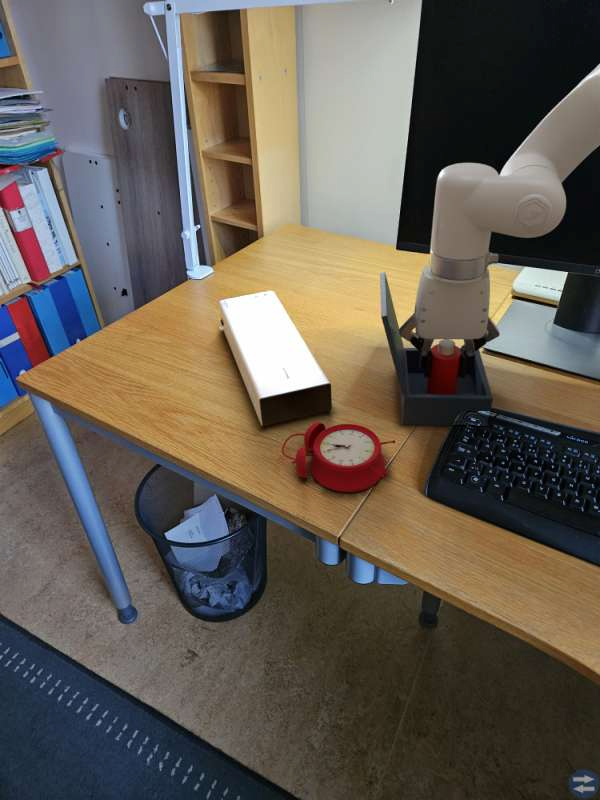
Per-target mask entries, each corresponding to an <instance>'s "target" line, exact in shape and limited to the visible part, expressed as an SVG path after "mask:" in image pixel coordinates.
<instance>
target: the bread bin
mask: <svg viewBox="0 0 600 800" xmlns="http://www.w3.org/2000/svg"><path fill="white" fill-rule="evenodd" d="M403 348H404V360H405V372H406V384H407V394H403V395H402V393H401V389H400V388H399V390H400V391H399V392H400V409H401V423H402V425H405V426H406V425H409V426H412V425H413V426H445V427H446V426H447V427H449V426H451V427H452V425H453V424H454V422H455V419H456V418H457V416H458V415H459V414H460V413H461V412H464V411H465V412H466V411H490V412H491V411H492V405H493V401H494V398H493V394H492V391H491V387H490V383H489V380H488V376H487V373H486V370H485V369H486V368H485V366H484V363H483V359H482V355H481V352H480V349H478V350H477V351H476V352H475V354H474V355H473V356H472V357H471V363H470V369H469V371H466V372H465V378H461V377H459V376H458V383H457V390H456V395H436V394H426V390H427V380H428V378H425V377H424V370H420V355H421V353H420V351H419V350H417V349H416V348H415V347H403ZM431 348H432V347H431ZM431 348H430V350H431Z"/></svg>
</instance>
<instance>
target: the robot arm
mask: <svg viewBox="0 0 600 800" xmlns="http://www.w3.org/2000/svg"><path fill="white" fill-rule="evenodd" d="M599 146H600V63H599V64H598V65H597V66H596V67H595V68H594V69H593V70H592V71H591V72H589V74H587V75H586V76H585V77H584V78H583V79H582V80H581V81H580V82H579V83H578V84H577V85H576V86H575V87H574V88H573V89H572V90H571V91H570V92H569V93H568V94H567V95H566V96H565V97H564V98H563V99H561V101H559V102H558V103H557V105H555V106H554V107H553V108H552V109H551V110H550V112H548V113H547V115H545V117H544V118H543V119H541V121H540V122H539V123H538V124H537V125H536V127H535V128H534V129H533V130H532V131H531V133H529V134H528V136H527V137H526V138H525V139H524V141H523V142H522V143H521V144H520V146H518V148H516V150H515V151H514V153H513V154H512V155H511V156H510V158H509V159H508V160H507V161H506V162H505V164H504V165H503V167H502V169H501V171H500V173H499V172H498V171H497V170H496V169H495V168H494V167H492V166H490V165H487V164H483V163H478V162H461V163H460V162H459V163H454V164H451V165H448V166H446V167H444V168H442V169H441V171H440V172H439V174H438V175H437V178H436V185H435V195H434V205H433V206H434V207H433V216H432V226H431V227H432V228H431V239H430V249H429V260H428V265H425V266H424V267H422V271H421V273H420V276H419V281H418V285H417V291H416V296H415V301H414V302H415V304H414V311H413V314H412V315H410V317H408V319H406V320H405V322H404V323H403V324H402V325H401V326H400V327H399V334H400V336H401V338H402V339H404V340H405V341H407V342H409V343H410V344H411V345H412V346H413V348H416V349H417V350H419V351H420V353H421V355H420V370H424V377H425V378H428V377H430V368H431V358H432V356H431V350H430V348H432V347H433V343H434V341H435V340H444V339H449V340H463V345H461V346H460V347H459V348H460V349H461V351H462V355H461V362H460V369H459V377H461V378H465V372H466V371H469V369H470V363H471V357H472V356H473V355H474V354H475V352H476V351H477V350H478V349H479V350H480V349H481V348H483V347H484V346H486V345H487V343H489V342H491V341H493V340H495V339H498V337H500V335H501V334H500V333H501V332H500V330H499V328H498V327H497V325H496V324H495V322H494V321H493V319H492V318H491V316H490V315H489V313H490V300H491V299H490V298H491V277H490V269H489V266H492V265H498V263H499V253H493V252H490V249H489V248H490V242H491V236H492V232H493V233H498V234H502V235H507V236H511V237H516V238H525V239H531V238H537V237H538V238H539V237H542V236H544V235H546V234H548V233H550V232H552V231H553V230H555V228H557V226H558V225H560V223H561V222H562V220H563V218H564V216H565V213H566V209H567V197H566V192H565V189H564V187H563V184H562V183H563V182H564V181H565V180H566V179H567V177H569V176H570V174H571V173H572V172H573V171H574V170H576V168H577V167H578V166H579V165H580V164H581V163H582V162H583V161H584V160H585V159H586V158H587V157H589V155H590V154H592V153H593V151H595V150H596V149H597V148H598V147H599ZM414 329H415V332H414V331H413V330H414Z"/></svg>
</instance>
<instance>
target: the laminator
mask: <svg viewBox="0 0 600 800" xmlns="http://www.w3.org/2000/svg"><path fill="white" fill-rule="evenodd" d="M218 307H219V316H220V324H221V325H220V326H218V329H219V331H223V333H224V335H225V338H226V340H227V343H228V345H229V349H230V351H231V353H232V354H233V358H234V361H235V363H236V365H237V368H238V370H239V374H240V376H241V379H242V381H243V383H244V386H245V389H246V391H247V395H248V396H249V399H250V401H251V403H252V407H253V409H254V411H255V414H256V416H257V419H258V422H259V424H260V426H261V428H264V427H266V426H270V425H273V424H279V423H282V422H287V421H291V420H294V419H299V418H303V417H308V416H313V415H317V414H321V413H325V412H331V411H332V408H333V407H332V406H333V405H332V404H333V403H332V384H331V382H330V380H329V379H328V377H327V375H326V374H325V372H324V371H323V369H322V368H321V366H320V364H319V362H317V359H316V357H315V356H314V354H313V352H312V351H311V350H310V348H309V346H308V344H307V343H306V342H305V340H304V338H303V336H302V335H301V333H300V331H299V330H298V328H297V327H296V325H295V324H294V321H293V320H292V319H291V317H290V315H289V313H288V312H287V310H286V308H285V307H284V306H283V304H282V302H281V300H280V299H279V297H278V296H277V294H276V292H275V291H274V290H273V289H271V290H266V291H259V292H255V293H249V294H244V295H239V296H233V297H228V298H222V299H218Z"/></svg>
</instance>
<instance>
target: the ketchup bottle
mask: <svg viewBox="0 0 600 800" xmlns="http://www.w3.org/2000/svg"><path fill="white" fill-rule="evenodd" d="M460 348H461V347H459V346H457V345H456V342H455V341H454V340H453V339H440V340H439V341H438V343H437V344H435V345H432V346H431V356H432V358H431V368H430V377H428V380H427V390H426V394H436V395H456V390H457V383H458V376H459V369H460V362H461V355H462V351H461V349H460Z"/></svg>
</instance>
